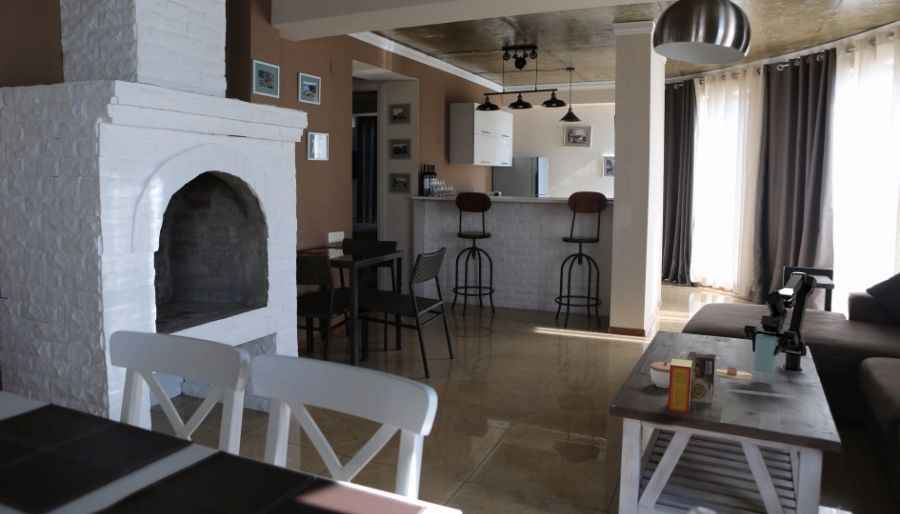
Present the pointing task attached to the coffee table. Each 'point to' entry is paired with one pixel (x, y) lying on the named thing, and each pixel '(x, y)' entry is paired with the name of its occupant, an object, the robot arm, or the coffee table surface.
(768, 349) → the teal domed canister
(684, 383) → the baking soda box
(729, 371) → the bowl
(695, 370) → the coffee box
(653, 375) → the lidded jar
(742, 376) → the oak plate
